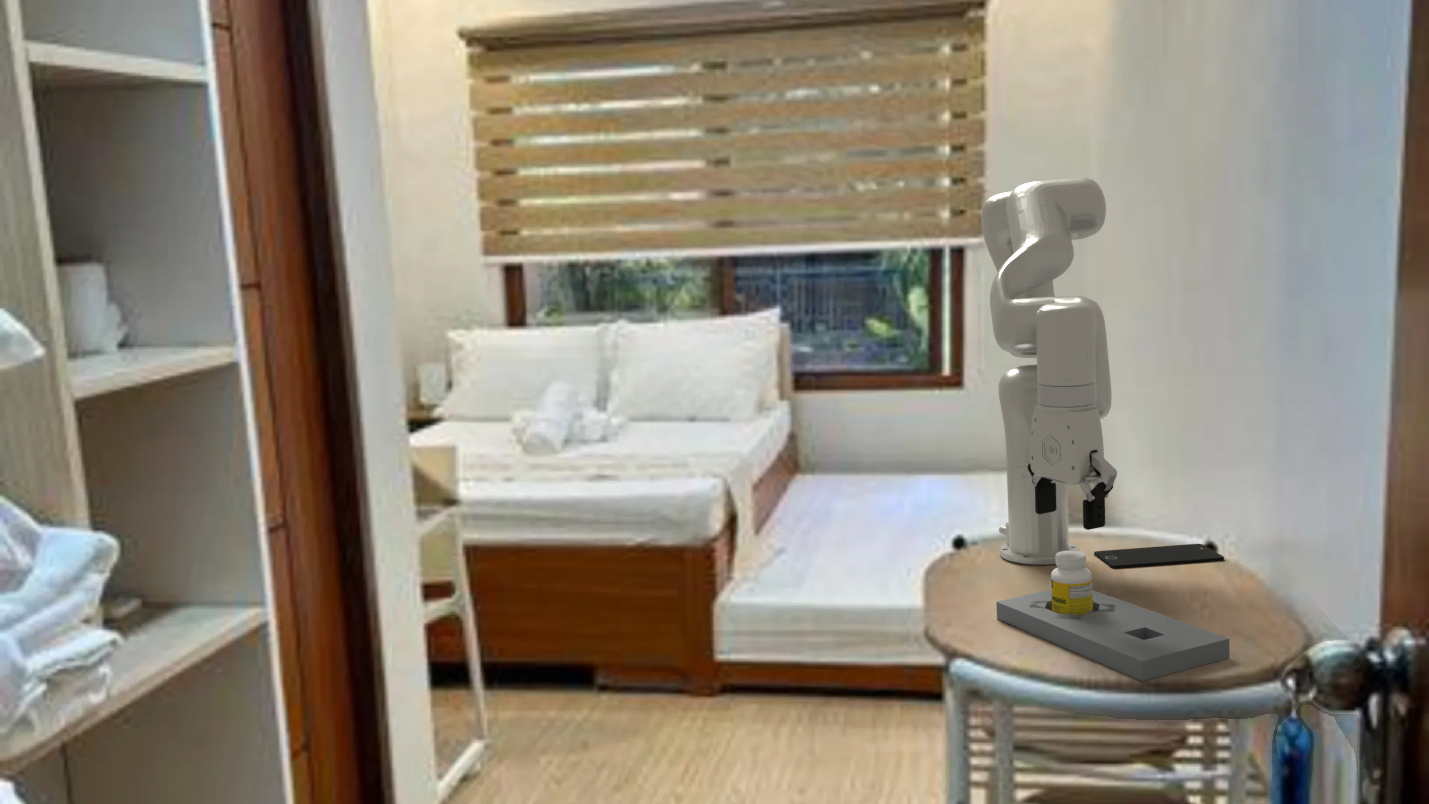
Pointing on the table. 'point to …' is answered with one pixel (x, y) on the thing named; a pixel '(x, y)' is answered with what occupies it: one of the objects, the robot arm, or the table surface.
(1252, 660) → the table surface
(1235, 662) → the table surface
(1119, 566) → the cell phone
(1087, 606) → the supplement bottle
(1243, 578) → the table surface
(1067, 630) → the socket plate
